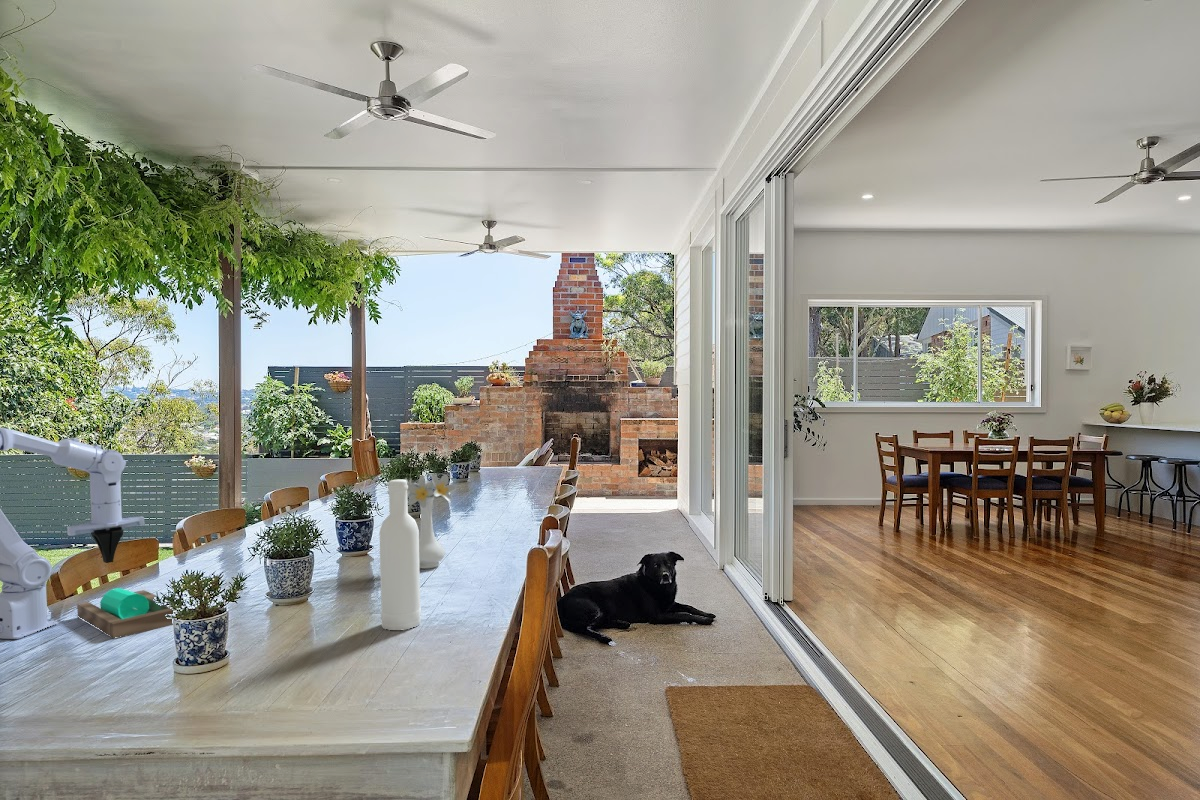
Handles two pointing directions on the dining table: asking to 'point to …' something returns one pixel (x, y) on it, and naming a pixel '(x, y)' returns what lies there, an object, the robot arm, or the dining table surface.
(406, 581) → the bottle
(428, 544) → the flower vase
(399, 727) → the dining table surface
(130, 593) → the candle
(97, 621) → the u rest
